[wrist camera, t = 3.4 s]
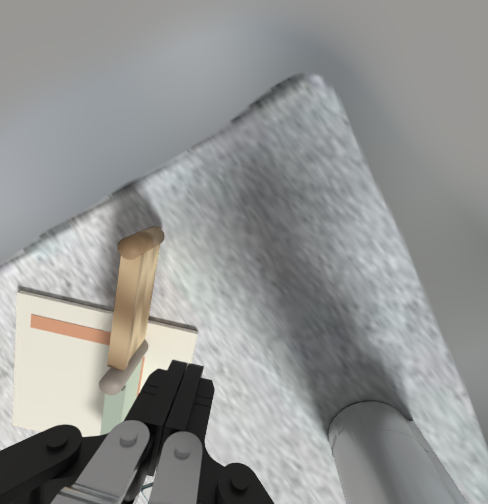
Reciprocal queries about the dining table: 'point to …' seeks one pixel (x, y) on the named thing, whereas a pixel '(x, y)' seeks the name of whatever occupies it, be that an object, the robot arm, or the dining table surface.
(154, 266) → the fence gate
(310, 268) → the dining table surface
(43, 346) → the card
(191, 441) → the robot arm
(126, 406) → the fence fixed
